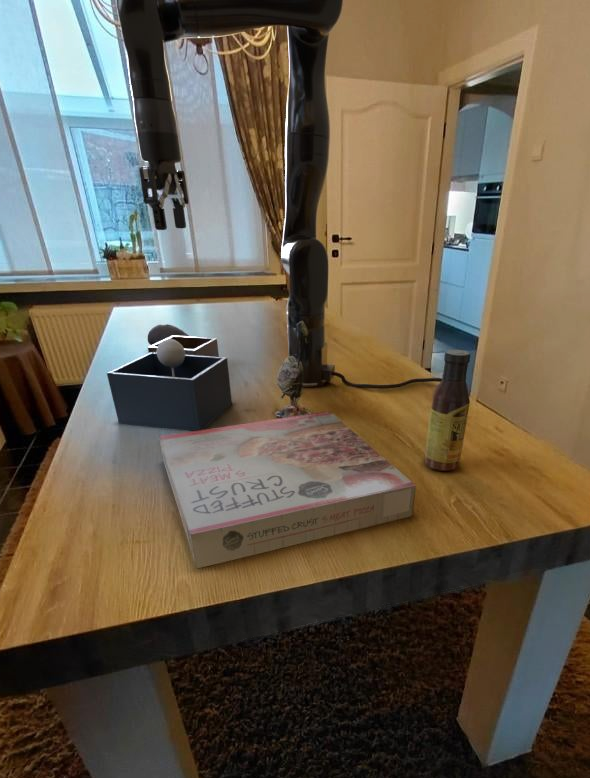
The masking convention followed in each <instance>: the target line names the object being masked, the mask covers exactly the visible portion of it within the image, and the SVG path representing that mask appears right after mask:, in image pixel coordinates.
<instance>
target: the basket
mask: <svg viewBox="0 0 590 778" xmlns="http://www.w3.org/2000/svg"><path fill="white" fill-rule="evenodd" d="M167 339H173V340H176V341H178V342H179V343H180V344H181V345H182V346H183V348H184V350H185V355H196V356H210V357H220V353H219V344H218V338H216V337H201V336H190V337H187V336H171V337H169V338H166V339H164V340H167ZM164 340H162V341H164ZM162 341H160V342H158V343H156V344H153V345H149V346H147V352H148V353H150V352H154V353H156V350H157V347H158V345H159V344H160V343H161V342H162Z"/></svg>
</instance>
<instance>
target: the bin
mask: <svg viewBox="0 0 590 778" xmlns="http://www.w3.org/2000/svg"><path fill="white" fill-rule="evenodd" d="M174 374H175V377H173V376H172V368H171V367H167V366H165V365H163V364H162V363H161V362H160V361H159V359H158V357H157V354H156V353H154V352H150V353H149V352H148V353H146V354H144V355H142V356H139V357H138V358H137V357H136V358H135V359H134V360H130V361H129V362H127V363H124V364H123V365H120V366H119V367H116V368H114V369H112V370H111V371H107V372H106V376H107V381H108V384H109V390H110V393H111V398H112V401H113V405H114V410H115V412H116V418H117V421H118V424H124V425H134V426H144V427H154V428H164V429H173V430H185V431H191V432H192V431H199V430H205V428H206V427H207V426H208V425H210V424H211V423H212V422H213V421H214V420H216V419H217V417H219V416H220V415H221V414H222V413H224V411H226V410H227V409H228V408H229V407H230V406H231V405H232V404H233V399H232V391H231V390H232V389H231V382H230V373H229V363H228V357H221V356H219V357H210V356H196V355H185V359H184V361H183V363H182V364H181V365H179V366H177V367H174Z"/></svg>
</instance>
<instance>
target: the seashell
mask: <svg viewBox="0 0 590 778" xmlns="http://www.w3.org/2000/svg"><path fill="white" fill-rule="evenodd" d="M171 336H187V337H191V336H190V335H189V334H187V333H186V332H185V331H184V330H183V329H180V328H179V327H177V326H175V325H172V324H168V323H167V324H157V325H155V326H154V327H152V328H151V329H150V330H149V331H148V334H147V343H148V344H149V346H151V345H153V344H156V343H158V342H160V341H162V340H164V339H166V338H169V337H171Z"/></svg>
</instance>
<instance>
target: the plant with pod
mask: <svg viewBox="0 0 590 778" xmlns="http://www.w3.org/2000/svg"><path fill="white" fill-rule="evenodd" d="M296 328H297V329H296V330H297V337H298V340H299V345H300V350H299V357H298V359H297V358H296V357H294V356H289V355H288V356H287V357H286V358H285V360H283V362H282V363H281V365H280V368H279V369H278V372H277V377H276V384H277V385H278V387H279V389H280V390H281V393H282V395H281V397H280V398H281V399H284V397H285V396H287V397H289V403H290V404H287V405H284V406H283V408H282V409H278V410H276V411H274V412H273V414H275V416H276V417H278V418H286V417H293V416H300V415H307V414H312V412H311V410H309V409H308V408H306V407H305V406H304V405H303V404H299V401H300V399H301V397H302V395H303V392H304V391H303V390H304V387H303V379H304V376H303V375H304V374H303V371H304V369H303V366H302V364H301V362H300V351H301V345H302V340H305V342H306V343H308V342H307V339H306V337H307V336H308V331H307V328H306V325H305V324H304V322H303V321H300V322H299V323H298V324H297V326H296ZM295 355H297V354H295Z"/></svg>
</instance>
